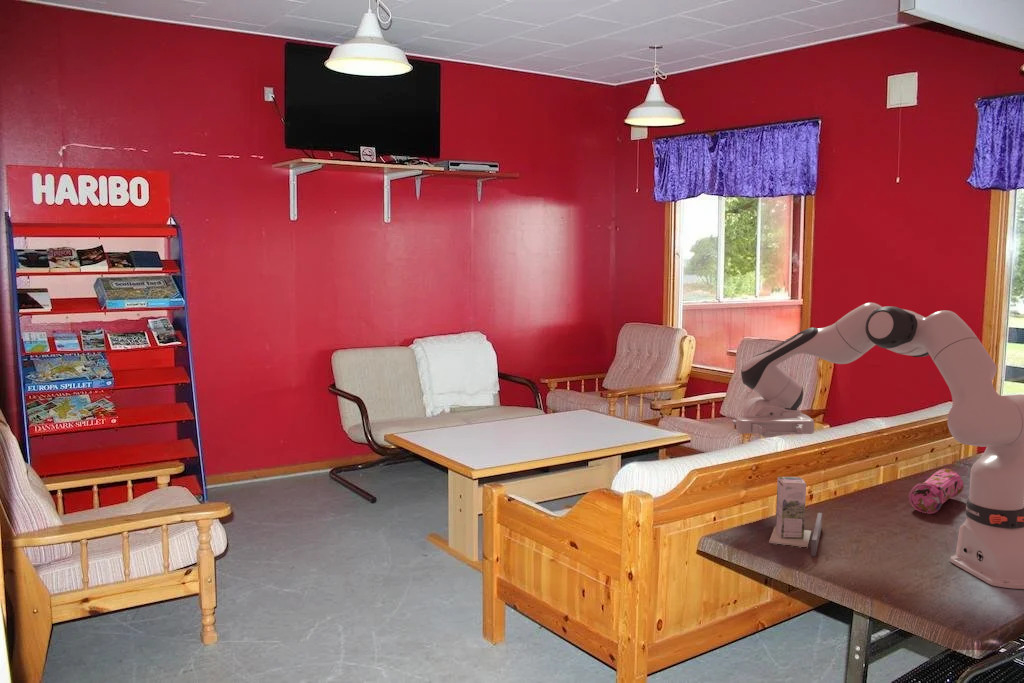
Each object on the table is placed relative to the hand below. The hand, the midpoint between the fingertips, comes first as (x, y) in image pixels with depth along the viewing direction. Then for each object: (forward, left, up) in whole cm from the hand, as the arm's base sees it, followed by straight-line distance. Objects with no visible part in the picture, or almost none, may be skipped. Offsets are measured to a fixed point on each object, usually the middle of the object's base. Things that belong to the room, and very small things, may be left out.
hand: (781, 431), depth 226 cm
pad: (-12, 0, -25) cm, 27 cm away
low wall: (-14, -6, -25) cm, 29 cm away
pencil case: (+17, -48, -25) cm, 57 cm away
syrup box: (-12, 0, -24) cm, 27 cm away
